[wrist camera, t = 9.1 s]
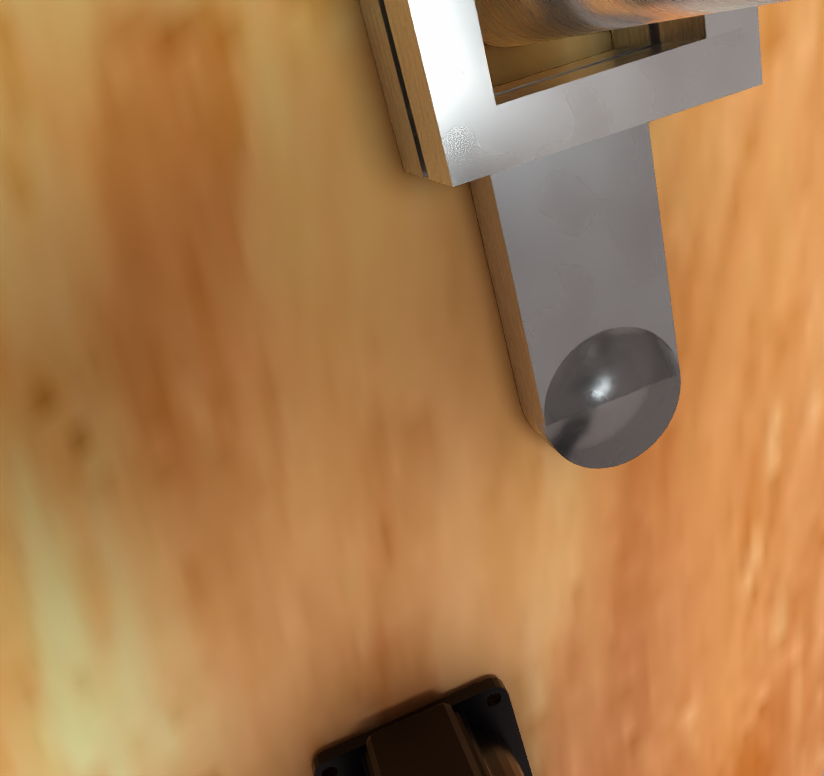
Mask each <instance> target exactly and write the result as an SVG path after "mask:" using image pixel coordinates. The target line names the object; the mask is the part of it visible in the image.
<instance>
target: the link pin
mask: <svg viewBox="0 0 824 776" xmlns="http://www.w3.org/2000/svg"><path fill="white" fill-rule="evenodd" d="M783 1H789V0H474V2H475V6H476V11H477V16H478V21H479V26H480V30H481V35H482V40H483V43H485V44H487V45H491V46H496V47H513V46H519V45H525V44H531V43H537V42H543V41H549V40H555V39H561V38H567V37H573V36H579V35H585V34H591V33H597V32H603V31H609V30H615V29H621V28H627V27H633V26H639V25H645V24H651V23H657V22H663V21H669V20H675V19H681V18H687V17H693V16H699V15H705V14H711V13H717V12H723V11H729V10H735V9H741V8H747V7H753V6H759V5H765V4H771V3H777V2H783Z"/></svg>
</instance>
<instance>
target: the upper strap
mask: <svg viewBox="0 0 824 776" xmlns="http://www.w3.org/2000/svg"><path fill="white" fill-rule="evenodd" d="M384 4H385V8H386V12H387V16H388V20H389V24H390V28H391V32H392V36H393V40H394V44H395V48H396V52H397V55H398V59H399V63H400V67H401V71H402V75H403V79H404V83H405V87H406V91H407V95H408V99H409V103H410V107H411V111H412V115H413V118H414V122H415V126H416V130H417V134H418V138H419V142H420V146H421V150H422V154H423V158H424V162H425V166H426V170H427V174H428V178H429V180H432V181H436V182H439V183H442V184H445V185H448V186H451V187H455V186H458V185H461V184H464V183H467V182H470V181H473V180H476V179H479V178H482V177H485V176H488V175H491V174H494V173H497V172H500V171H503V170H506V169H509V168H512V167H515V166H518V165H521V164H524V163H527V162H530V161H533V160H536V159H539V158H542V157H545V156H548V155H551V154H554V153H557V152H560V151H563V150H566V149H569V148H572V147H575V146H578V145H581V144H584V143H587V142H590V141H593V140H596V139H599V138H602V137H605V136H608V135H611V134H614V133H617V132H620V131H623V130H626V129H629V128H632V127H635V126H638V125H641V124H644V123H647V122H650V121H653V120H656V119H659V118H662V117H665V116H668V115H671V114H674V113H677V112H680V111H683V110H686V109H689V108H692V107H695V106H698V105H701V104H704V103H707V102H710V101H713V100H716V99H719V98H722V97H725V96H728V95H731V94H734V93H737V92H740V91H743V90H746V89H749V88H752V87H755V86H758V85H761V84H762V68H761V52H760V37H759V21H758V6H753V7H747V8H741V9H735V10H729V11H723V12H717V13H711V14H705V15H699V16H693V17H687V18H681V19H675V20H669V21H663V22H658V24H659V33H660V41H661V44H659V45H656V46H652V47H649V48H646V49H643V50H640V51H637V52H634V53H630V54H627V55H624V56H621V57H618V58H615V59H611V60H608V61H605V62H602V63H599V64H596V65H593V66H589V67H586V68H583V69H580V70H577V71H574V72H570V73H567V74H564V75H561V76H558V77H555V78H552V79H548V80H545V81H542V82H539V83H536V84H533V85H529V86H526V87H523V88H520V89H517V90H514V91H511V92H507V93H504V94H501V95H498V96H495V97H494V93H493V88H492V83H491V79H490V74H489V69H488V64H487V59H486V54H485V50H484V45H483V40H482V35H481V30H480V26H479V21H478V16H477V11H476V6H475V2H474V0H384Z"/></svg>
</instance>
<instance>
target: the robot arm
mask: <svg viewBox="0 0 824 776" xmlns="http://www.w3.org/2000/svg"><path fill="white" fill-rule="evenodd" d="M494 693H495V694H494ZM491 694H494V695H492V696H491V697H488V696H490V695H491ZM331 766H332V767H331ZM327 767H331V768H329V769H326V768H327ZM312 770H313V775H314V776H532V773H531V769H530V766H529V762H528V759H527V756H526V752H525V749H524V745H523V742H522V739H521V735H520V732H519V728H518V725H517V722H516V718H515V715H514V711H513V708H512V705H511V701H510V698H509V694H508V692H507V690H506V688H505V687H504V685H503V683H502V681H501V680H499V679H497V678H490V679H486V680H484V681H482V682H479V683H477V684H475V685H473V686H470V687H468V688H466V689H464V690H461V691H459V692H457V693H455V694H452V695H450V696H448V697H445V698H443V699H441V700H439V701H436V702H434V703H432V704H430V705H427V706H425V707H423V708H421V709H418V710H416V711H414V712H412V713H409V714H407V715H405V716H403V717H400V718H398V719H396V720H393V721H391V722H389V723H387V724H384V725H382V726H380V727H378V728H375V729H373V730H371V731H369V732H366V733H364V734H362V735H360V736H357V737H355V738H353V739H351V740H348V741H346V742H344V743H341V744H339V745H337V746H335V747H332V748H330V749H328V750H326V751H323V752H322V753H320V754H318V755H317V756H316V757H315V758H314V760H313V762H312Z"/></svg>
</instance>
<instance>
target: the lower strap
mask: <svg viewBox="0 0 824 776" xmlns="http://www.w3.org/2000/svg"><path fill="white" fill-rule="evenodd" d="M359 3H360V7H361V11H362V14H363V18H364V22H365V26H366V29H367V33H368V37H369V41H370V44H371V48H372V52H373V56H374V59H375V63H376V67H377V71H378V74H379V78H380V82H381V86H382V89H383V93H384V97H385V101H386V104H387V108H388V112H389V116H390V119H391V123H392V127H393V131H394V134H395V138H396V142H397V146H398V149H399V153H400V157H401V161H402V165H403V168H404V172H408V173H411V174H414V175H417V176H420V177H423V178H424V177H427V176H428V174H427V170H426V166H425V162H424V158H423V154H422V150H421V146H420V142H419V138H418V134H417V130H416V126H415V122H414V118H413V115H412V111H411V107H410V103H409V99H408V95H407V91H406V87H405V83H404V79H403V75H402V71H401V67H400V63H399V59H398V55H397V52H396V48H395V44H394V40H393V36H392V32H391V28H390V24H389V20H388V16H387V12H386V8H385V4H384V0H359ZM611 34H612V41H613V48H614V50H611V51H608V52H604V53H601V54H598V55H595V56H592V57H588V58H585V59H582V60H579V61H576V62H573V63H569V64H566V65H563V66H560V67H557V68H554V69H550V70H547V71H544V72H541V73H538V74H535V75H531V76H528V77H525V78H522V79H519V80H515V81H512V82H509V83H506V84H503V85H500V86H496V87H493V93H494V97H495V96H498V95H501V94H504V93H507V92H511V91H514V90H517V89H520V88H523V87H526V86H529V85H533V84H536V83H539V82H542V81H545V80H548V79H552V78H555V77H558V76H561V75H564V74H567V73H570V72H574V71H577V70H580V69H583V68H586V67H589V66H593V65H596V64H599V63H602V62H605V61H608V60H611V59H615V58H618V57H621V56H624V55H627V54H630V53H634V52H637V51H640V50H643V49H646V48H649V47H652V46H656V45H659V44H661V41H660V33H659V24H658V22H657V23H651V24H645V25H639V26H633V27H627V28H621V29H615V30H611ZM469 183H470V188H471V192H472V196H473V201H474V205H475V209H476V214H477V218H478V222H479V227H480V231H481V235H482V240H483V244H484V248H485V253H486V257H487V261H488V265H489V270H490V274H491V278H492V283H493V287H494V291H495V296H496V300H497V304H498V309H499V313H500V317H501V322H502V326H503V330H504V335H505V339H506V343H507V347H508V352H509V356H510V360H511V365H512V369H513V373H514V378H515V382H516V386H517V391H518V395H519V399H520V404H521V407H522V410H523V413H524V415H525V417H526V419H527V421H528V422H529V424H530V425H531V426H532V427H533V428H534V430H535V431H536V432H537V433H539V434H540V435H541V436H542V437H543V438H544V439H545V440H546V441H547V442H548V443H549V444H550V445H551V446H552V447H553V448H554V449H556V450H557V451H558V452H559V453H560V454H561V455H562V456H563V457H565V458H566V459H567V460H569V461H571V462H572V463H574V464H577V465H580V466H582V467H588V468H609V467H613V466H617V465H620V464H623V463H626V462H628V461H630V460H632V459H634V458H635V457H637V456H639V455H640V454H642V453H643V452H644V451H646V450H647V449H648V448H649V447H650V446H651V445H653V444H654V443H655V442H656V440H657V439H658V438H659V437H660V436H661V435H662V433H663V432H664V430H665V429H666V428H667V426H668V424H669V423H670V421H671V419H672V417H673V414H674V412H675V410H676V407H677V403H678V400H679V395H680V385H681V380H680V369H679V361H678V353H677V346H676V338H675V330H674V322H673V314H672V306H671V298H670V291H669V283H668V275H667V267H666V259H665V251H664V244H663V236H662V228H661V220H660V212H659V204H658V196H657V189H656V181H655V173H654V165H653V157H652V149H651V142H650V134H649V126H648V122H647V123H644V124H641V125H638V126H635V127H632V128H629V129H626V130H623V131H620V132H617V133H614V134H611V135H608V136H605V137H602V138H599V139H596V140H593V141H590V142H587V143H584V144H581V145H578V146H575V147H572V148H569V149H566V150H563V151H560V152H557V153H554V154H551V155H548V156H545V157H542V158H539V159H536V160H533V161H530V162H527V163H524V164H521V165H518V166H515V167H512V168H509V169H506V170H503V171H500V172H497V173H494V174H491V175H488V176H485V177H482V178H479V179H476V180H473V181H470V182H469Z"/></svg>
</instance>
